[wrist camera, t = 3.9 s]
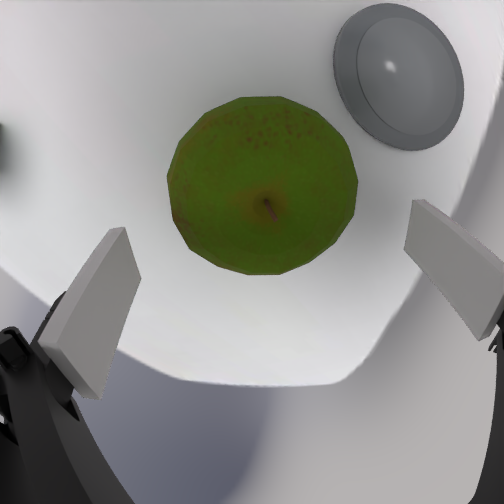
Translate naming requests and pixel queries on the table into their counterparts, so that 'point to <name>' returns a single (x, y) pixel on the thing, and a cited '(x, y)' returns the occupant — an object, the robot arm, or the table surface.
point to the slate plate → (398, 76)
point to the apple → (261, 185)
